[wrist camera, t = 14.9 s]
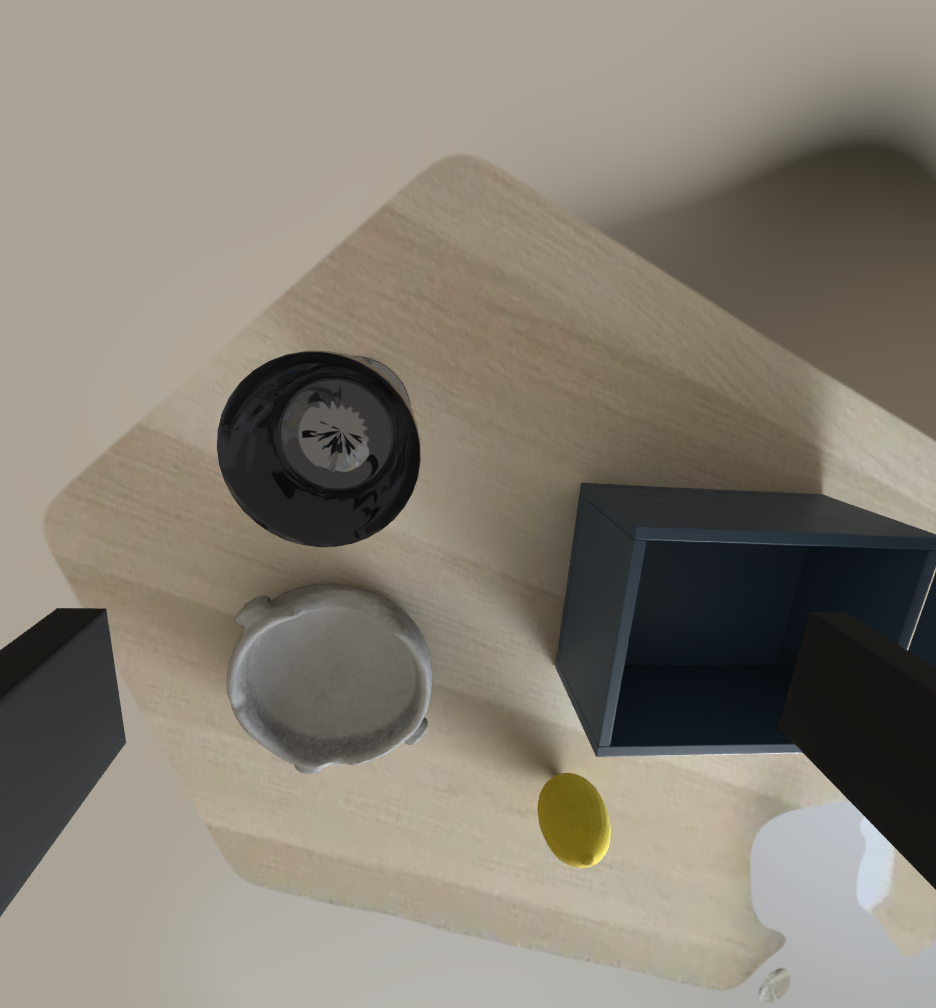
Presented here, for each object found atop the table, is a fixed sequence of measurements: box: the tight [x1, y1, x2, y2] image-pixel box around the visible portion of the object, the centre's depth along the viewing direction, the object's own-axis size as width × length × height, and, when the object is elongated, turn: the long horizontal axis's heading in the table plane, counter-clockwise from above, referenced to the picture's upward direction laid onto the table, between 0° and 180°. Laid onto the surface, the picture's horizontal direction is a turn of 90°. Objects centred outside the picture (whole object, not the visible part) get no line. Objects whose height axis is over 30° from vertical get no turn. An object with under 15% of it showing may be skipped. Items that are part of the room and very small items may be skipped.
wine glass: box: [217, 351, 421, 547], centre depth 28 cm, size 8×8×15 cm
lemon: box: [538, 773, 611, 868], centre depth 42 cm, size 6×6×8 cm
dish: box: [227, 584, 432, 774], centre depth 38 cm, size 14×14×5 cm
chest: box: [556, 483, 936, 757], centre depth 37 cm, size 20×16×10 cm
